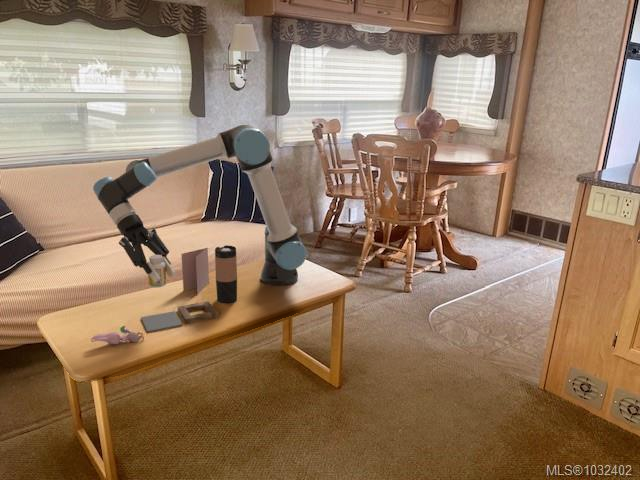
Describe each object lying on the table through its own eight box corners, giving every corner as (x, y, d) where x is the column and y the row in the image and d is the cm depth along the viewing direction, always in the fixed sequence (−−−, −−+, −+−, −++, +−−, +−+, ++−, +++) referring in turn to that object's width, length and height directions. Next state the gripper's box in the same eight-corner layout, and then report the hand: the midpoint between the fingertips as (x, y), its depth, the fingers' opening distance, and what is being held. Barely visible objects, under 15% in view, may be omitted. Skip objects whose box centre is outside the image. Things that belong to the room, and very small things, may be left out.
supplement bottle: (159, 280, 170) (157, 252, 168) (169, 284, 168) (168, 256, 165) (145, 285, 166) (143, 256, 163) (156, 289, 163) (154, 260, 160)
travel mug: (233, 305, 185) (231, 252, 179) (213, 303, 186) (211, 251, 180) (240, 296, 192) (239, 246, 186) (221, 294, 194) (219, 244, 188)
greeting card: (207, 282, 205) (206, 247, 200) (218, 288, 200) (217, 251, 195) (182, 290, 197) (180, 253, 192) (192, 296, 192) (190, 258, 187)
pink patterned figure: (140, 338, 163) (89, 341, 156) (142, 321, 162) (91, 322, 155) (144, 347, 158) (91, 350, 151) (146, 329, 157) (92, 331, 149)
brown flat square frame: (208, 305, 185) (208, 301, 184) (218, 317, 176) (217, 313, 175) (177, 310, 180) (177, 306, 179) (186, 323, 170) (185, 319, 170)
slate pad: (174, 312, 178) (174, 311, 178) (182, 325, 169) (182, 324, 169) (141, 318, 173) (141, 317, 173) (147, 332, 164) (147, 331, 164)
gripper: (144, 220, 177) (181, 275, 174) (97, 232, 162) (136, 293, 159) (154, 207, 173) (191, 263, 169) (106, 219, 158) (147, 280, 154)
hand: (165, 277), depth 164 cm, fingers closed on supplement bottle, 5 cm apart
